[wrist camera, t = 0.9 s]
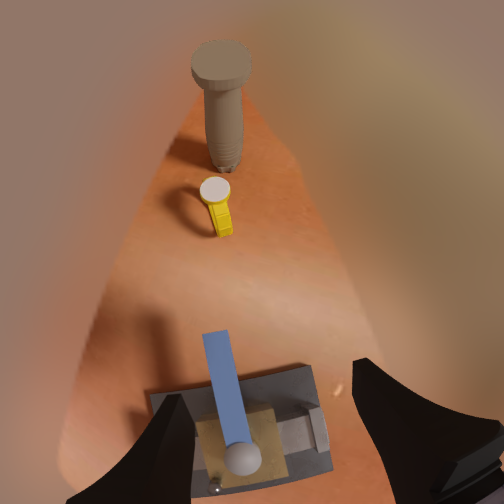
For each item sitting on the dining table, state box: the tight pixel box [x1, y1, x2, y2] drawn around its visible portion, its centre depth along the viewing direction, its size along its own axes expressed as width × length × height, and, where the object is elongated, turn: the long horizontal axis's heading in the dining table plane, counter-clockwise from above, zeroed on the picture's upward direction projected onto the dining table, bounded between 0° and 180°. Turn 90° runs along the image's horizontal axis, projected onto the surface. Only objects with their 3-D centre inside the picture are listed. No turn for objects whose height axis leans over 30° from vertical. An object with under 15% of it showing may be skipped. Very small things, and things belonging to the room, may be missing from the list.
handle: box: [191, 40, 252, 173], centre depth 29 cm, size 5×6×15 cm
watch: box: [200, 176, 233, 238], centre depth 31 cm, size 6×3×6 cm, turn 19°
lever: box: [202, 330, 262, 476], centre depth 21 cm, size 11×3×2 cm, turn 12°
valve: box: [150, 365, 333, 498], centre depth 22 cm, size 11×15×7 cm
